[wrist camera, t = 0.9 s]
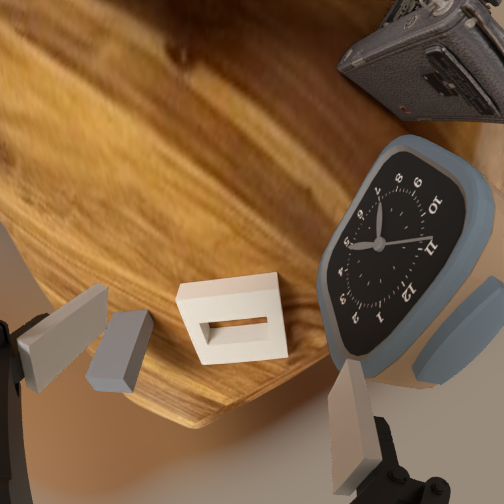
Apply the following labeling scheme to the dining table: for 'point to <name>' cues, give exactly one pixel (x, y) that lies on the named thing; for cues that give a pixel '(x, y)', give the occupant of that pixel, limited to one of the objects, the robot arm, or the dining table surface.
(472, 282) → the alarm clock
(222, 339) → the white flat frame block
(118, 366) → the grey rectangular peg
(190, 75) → the dining table surface
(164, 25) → the dining table surface
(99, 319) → the robot arm
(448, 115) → the camera
